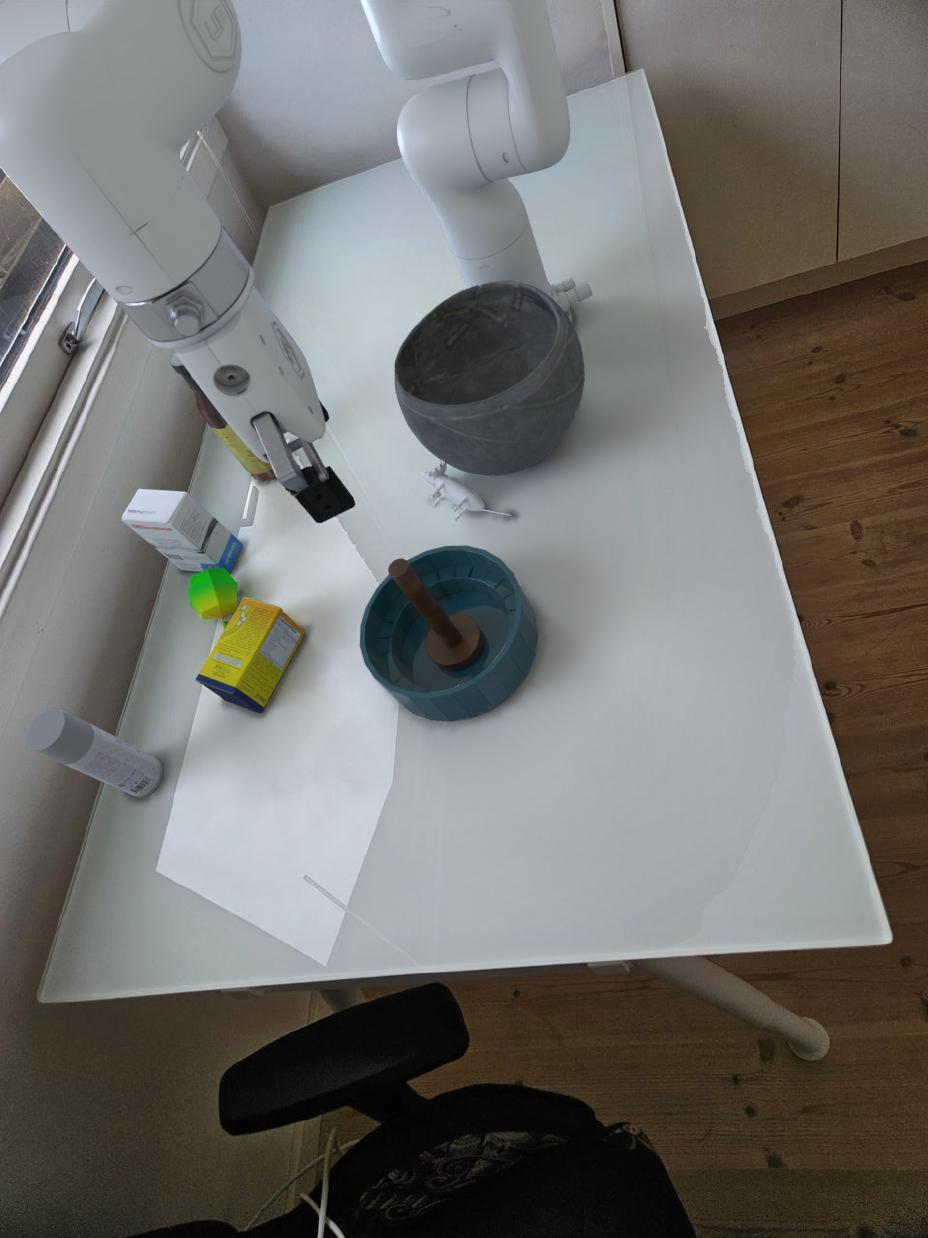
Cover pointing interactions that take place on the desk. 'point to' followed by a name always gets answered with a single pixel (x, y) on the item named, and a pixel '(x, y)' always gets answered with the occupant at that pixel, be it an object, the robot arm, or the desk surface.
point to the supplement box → (251, 654)
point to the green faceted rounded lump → (213, 594)
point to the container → (94, 752)
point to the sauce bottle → (224, 428)
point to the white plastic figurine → (454, 491)
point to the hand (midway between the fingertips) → (324, 467)
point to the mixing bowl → (459, 588)
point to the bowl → (491, 378)
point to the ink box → (182, 530)
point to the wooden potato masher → (440, 623)
